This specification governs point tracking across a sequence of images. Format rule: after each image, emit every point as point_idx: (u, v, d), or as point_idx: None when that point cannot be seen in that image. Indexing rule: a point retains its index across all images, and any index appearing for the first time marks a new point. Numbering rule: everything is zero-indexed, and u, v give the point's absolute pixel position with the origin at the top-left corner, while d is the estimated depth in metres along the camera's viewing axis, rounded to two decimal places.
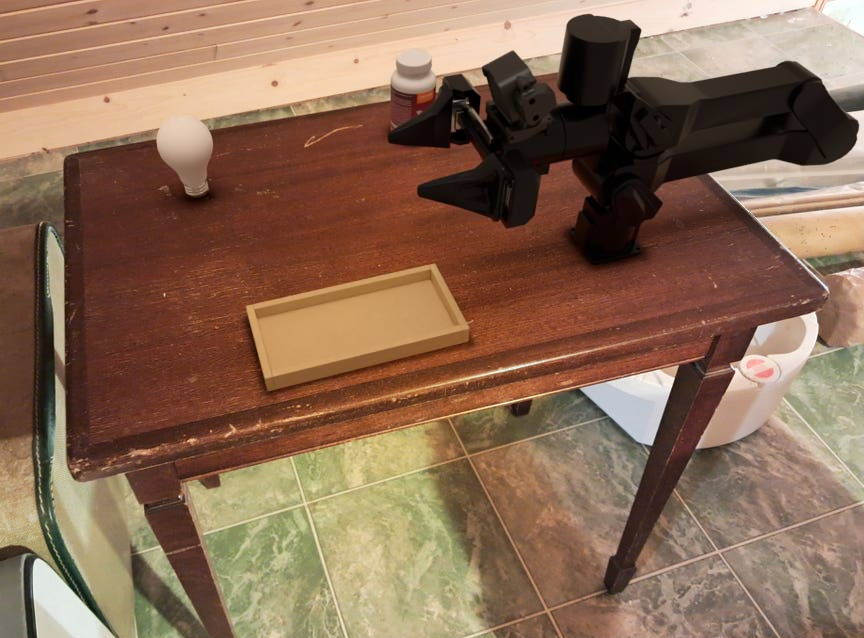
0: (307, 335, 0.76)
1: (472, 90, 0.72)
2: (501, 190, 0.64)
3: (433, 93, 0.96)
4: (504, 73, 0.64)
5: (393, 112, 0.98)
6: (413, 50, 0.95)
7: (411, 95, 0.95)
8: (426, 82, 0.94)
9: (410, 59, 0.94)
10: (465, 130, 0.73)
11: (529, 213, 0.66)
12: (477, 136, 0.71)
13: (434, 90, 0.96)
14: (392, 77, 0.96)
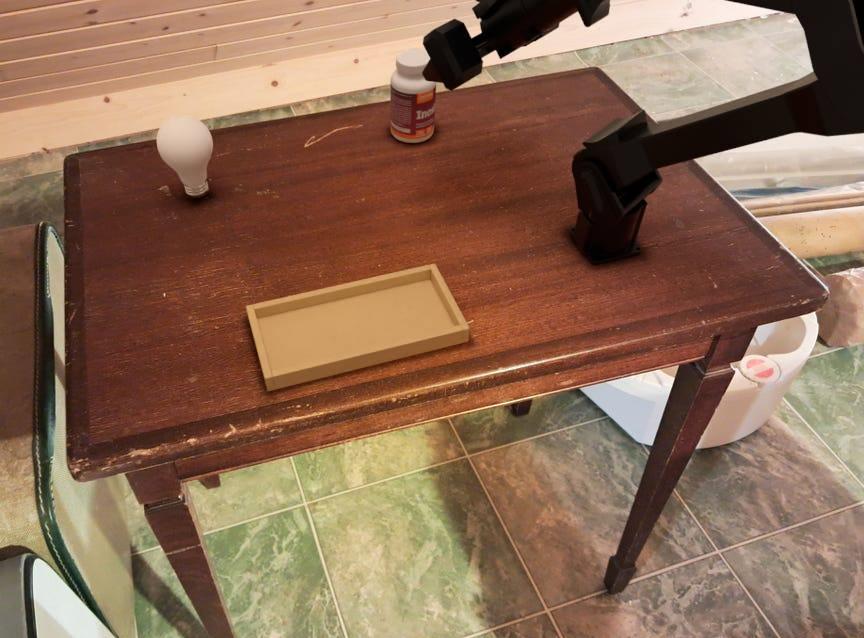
0: (307, 335, 0.76)
1: None
2: None
3: (433, 93, 0.96)
4: None
5: (393, 112, 0.98)
6: (413, 50, 0.95)
7: (411, 95, 0.95)
8: (426, 82, 0.94)
9: (410, 59, 0.94)
10: None
11: (450, 71, 0.75)
12: None
13: (434, 90, 0.96)
14: (392, 77, 0.96)
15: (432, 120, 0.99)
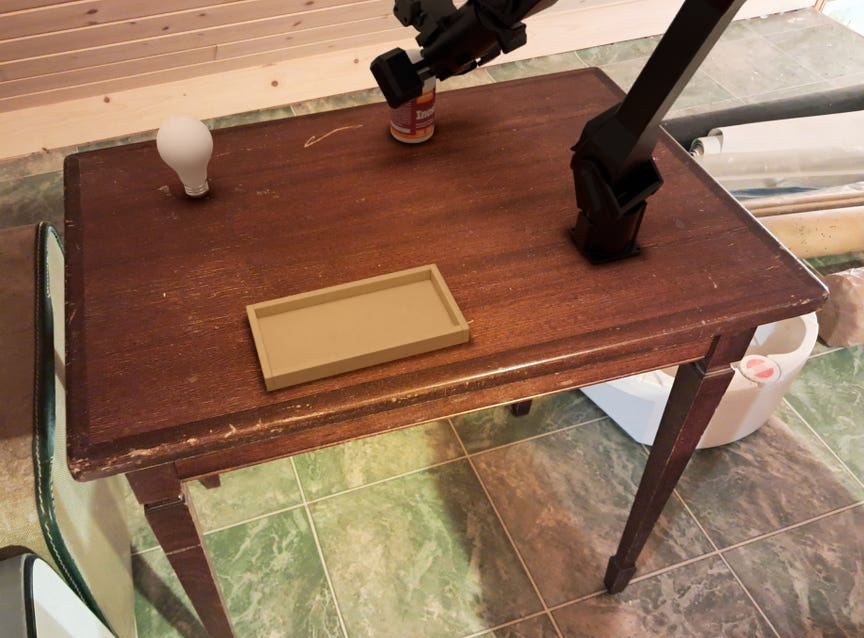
0: (307, 335, 0.76)
1: None
2: None
3: (433, 93, 0.96)
4: None
5: (393, 112, 0.98)
6: (413, 50, 0.95)
7: None
8: (426, 82, 0.94)
9: (410, 59, 0.94)
10: None
11: (392, 92, 0.86)
12: None
13: (433, 89, 0.96)
14: None
15: (432, 120, 0.99)
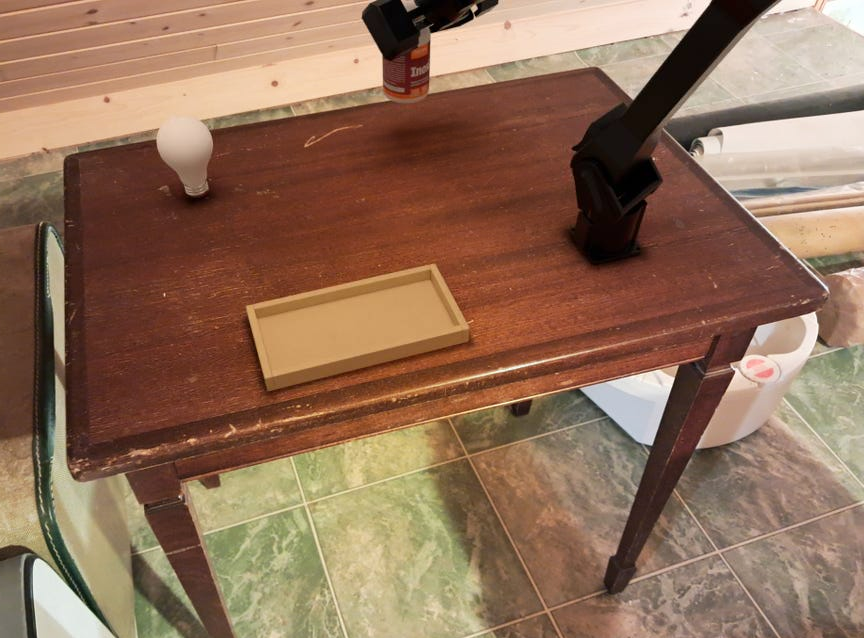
0: (307, 335, 0.76)
1: None
2: None
3: (428, 48, 0.90)
4: None
5: (386, 71, 0.92)
6: (405, 2, 0.89)
7: None
8: (420, 35, 0.89)
9: None
10: None
11: (386, 41, 0.80)
12: None
13: (428, 44, 0.90)
14: None
15: (427, 78, 0.94)
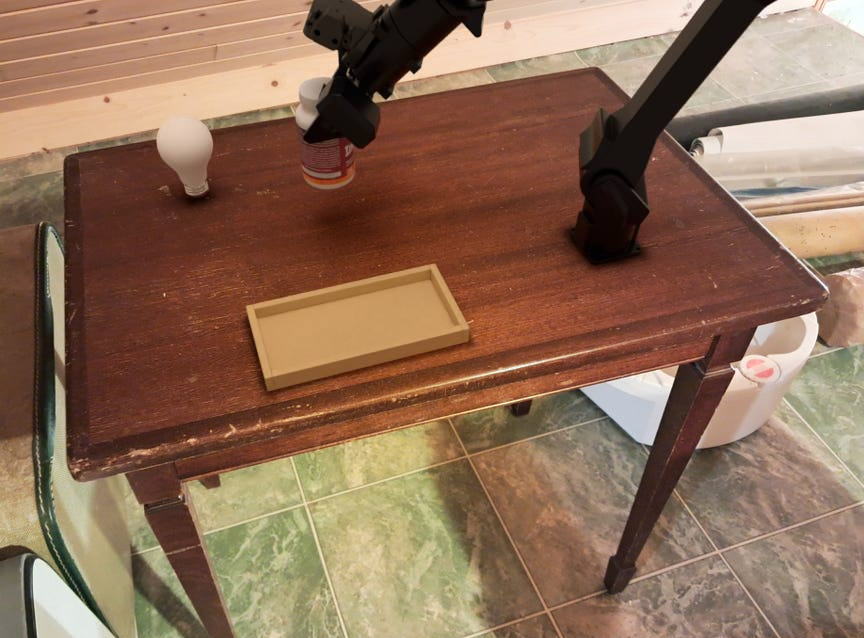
0: (307, 335, 0.76)
1: None
2: None
3: None
4: None
5: (315, 160, 0.80)
6: (310, 81, 0.77)
7: None
8: None
9: (320, 91, 0.76)
10: None
11: (361, 129, 0.69)
12: None
13: None
14: (303, 120, 0.77)
15: None
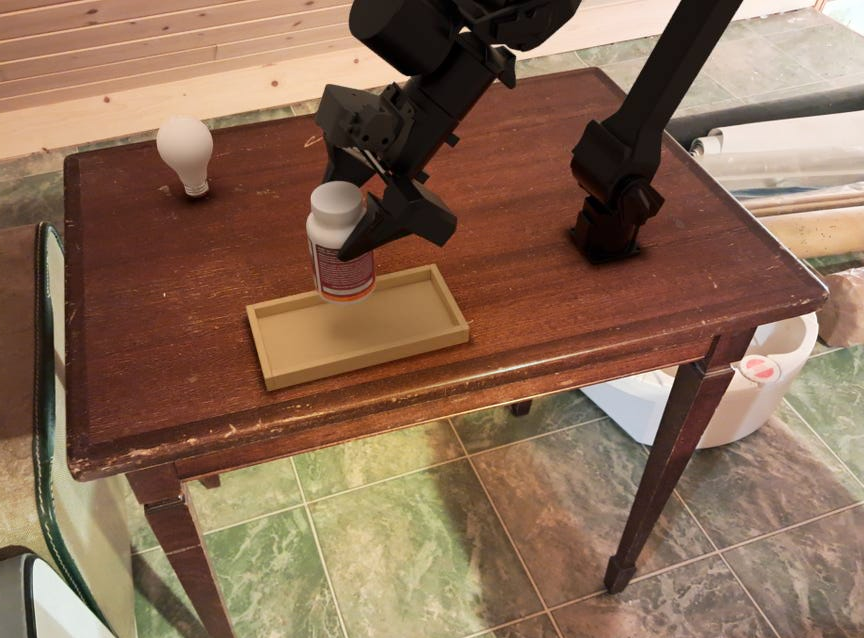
0: (307, 335, 0.76)
1: None
2: (397, 221, 0.60)
3: None
4: (329, 124, 0.58)
5: (348, 277, 0.67)
6: (317, 193, 0.64)
7: None
8: (366, 210, 0.66)
9: (340, 200, 0.64)
10: None
11: (447, 226, 0.59)
12: (372, 159, 0.65)
13: None
14: (332, 239, 0.64)
15: None
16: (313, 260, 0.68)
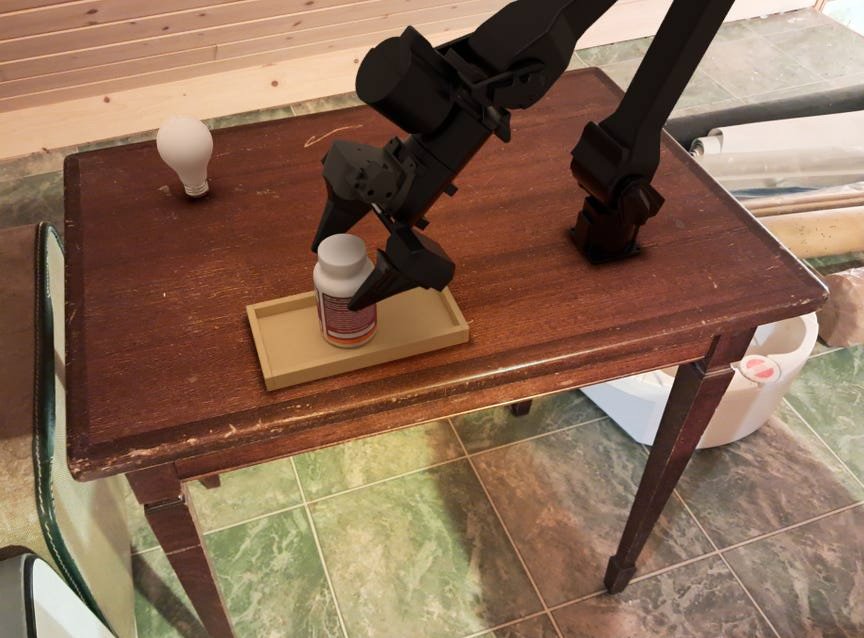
0: (307, 335, 0.76)
1: None
2: (405, 276, 0.63)
3: None
4: (336, 177, 0.61)
5: (352, 322, 0.72)
6: (324, 245, 0.69)
7: None
8: (369, 260, 0.71)
9: (346, 253, 0.68)
10: None
11: (446, 273, 0.63)
12: None
13: None
14: (338, 288, 0.69)
15: None
16: (319, 306, 0.72)
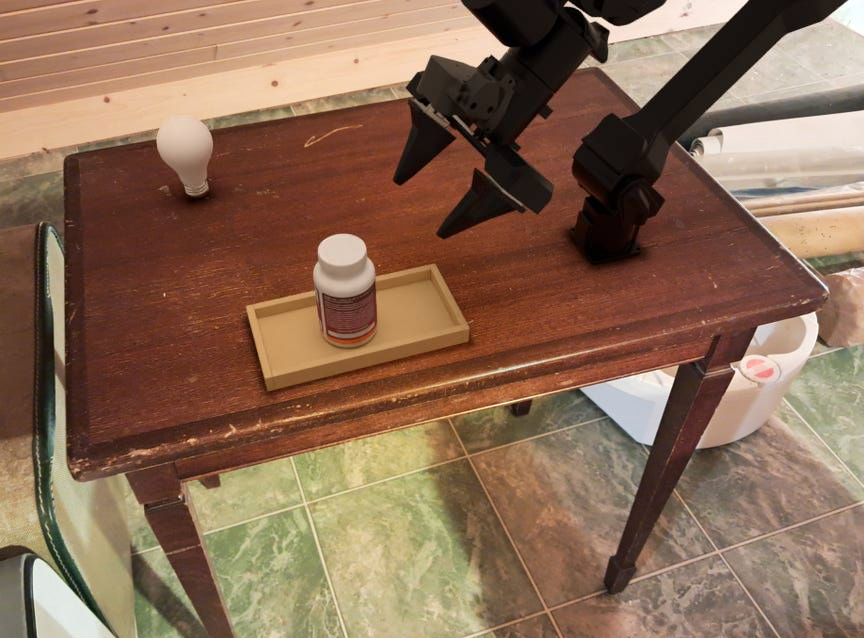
0: (307, 335, 0.76)
1: None
2: (504, 196, 0.61)
3: None
4: (435, 92, 0.60)
5: (352, 322, 0.72)
6: (324, 245, 0.69)
7: (372, 285, 0.71)
8: (369, 260, 0.71)
9: (346, 253, 0.68)
10: None
11: (545, 193, 0.61)
12: (464, 131, 0.67)
13: None
14: (338, 288, 0.69)
15: None
16: (319, 306, 0.72)
